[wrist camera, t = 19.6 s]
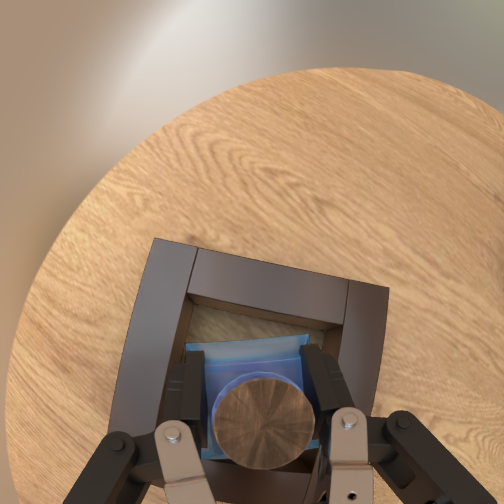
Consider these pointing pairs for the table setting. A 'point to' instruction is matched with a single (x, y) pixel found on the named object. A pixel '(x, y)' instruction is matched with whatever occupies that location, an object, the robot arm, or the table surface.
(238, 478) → the holder
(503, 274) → the table surface
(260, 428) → the perfume bottle
